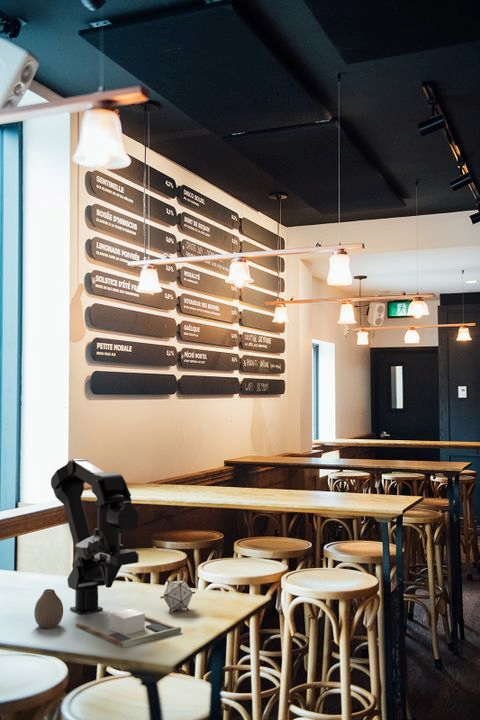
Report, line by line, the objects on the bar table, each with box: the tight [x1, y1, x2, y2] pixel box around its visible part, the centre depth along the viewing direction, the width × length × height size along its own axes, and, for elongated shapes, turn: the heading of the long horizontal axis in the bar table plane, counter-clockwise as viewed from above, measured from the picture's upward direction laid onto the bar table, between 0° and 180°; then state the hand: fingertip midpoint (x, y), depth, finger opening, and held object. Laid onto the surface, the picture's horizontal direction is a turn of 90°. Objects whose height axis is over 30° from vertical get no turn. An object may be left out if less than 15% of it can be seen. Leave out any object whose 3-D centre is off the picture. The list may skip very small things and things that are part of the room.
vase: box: [33, 588, 64, 630], centre depth 188 cm, size 7×7×9 cm
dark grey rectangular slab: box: [108, 623, 170, 641], centre depth 181 cm, size 6×14×1 cm, turn 132°
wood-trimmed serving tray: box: [75, 615, 182, 648], centre depth 185 cm, size 21×16×1 cm
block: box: [109, 608, 146, 636], centre depth 185 cm, size 6×6×4 cm
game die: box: [159, 577, 196, 613], centre depth 202 cm, size 9×8×10 cm
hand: (108, 587), depth 192 cm, fingers closed
